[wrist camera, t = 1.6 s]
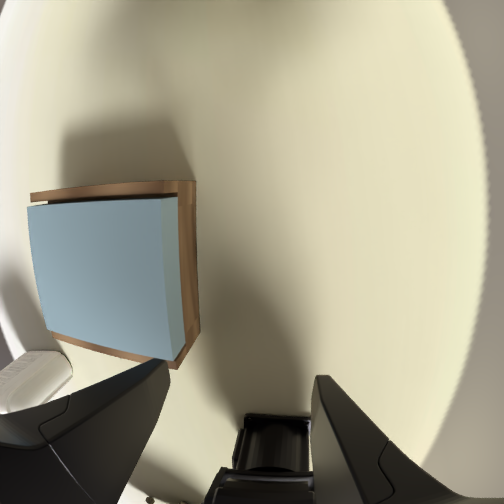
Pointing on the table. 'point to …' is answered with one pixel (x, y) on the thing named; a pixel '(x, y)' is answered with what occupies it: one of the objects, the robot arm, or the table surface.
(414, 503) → the robot arm
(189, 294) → the slide box
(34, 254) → the cover plate
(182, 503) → the tabletop clock
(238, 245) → the table surface
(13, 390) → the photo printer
